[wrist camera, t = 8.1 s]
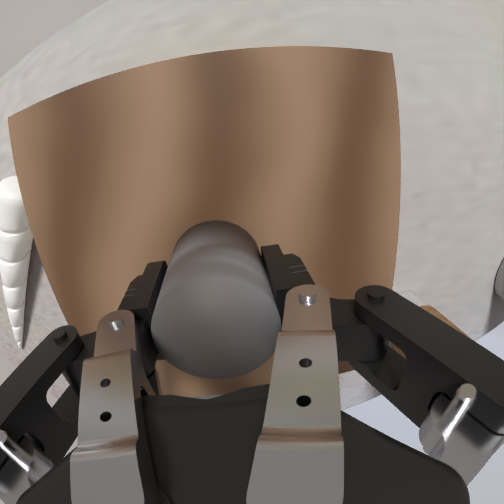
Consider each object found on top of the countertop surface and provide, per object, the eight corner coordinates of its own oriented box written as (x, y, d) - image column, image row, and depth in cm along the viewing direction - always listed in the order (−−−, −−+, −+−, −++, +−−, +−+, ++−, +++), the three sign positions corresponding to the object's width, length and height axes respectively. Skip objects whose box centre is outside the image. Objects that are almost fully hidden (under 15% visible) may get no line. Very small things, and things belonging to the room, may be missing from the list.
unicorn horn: (1, 333, 28) (-14, 355, 24) (18, 168, 21) (-11, 178, 17) (27, 349, 30) (13, 373, 25) (52, 185, 23) (25, 199, 18)
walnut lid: (383, 56, 11) (465, 35, 5) (373, 355, 18) (410, 419, 13) (16, 117, 10) (-65, 128, 5) (113, 391, 17) (96, 459, 12)
